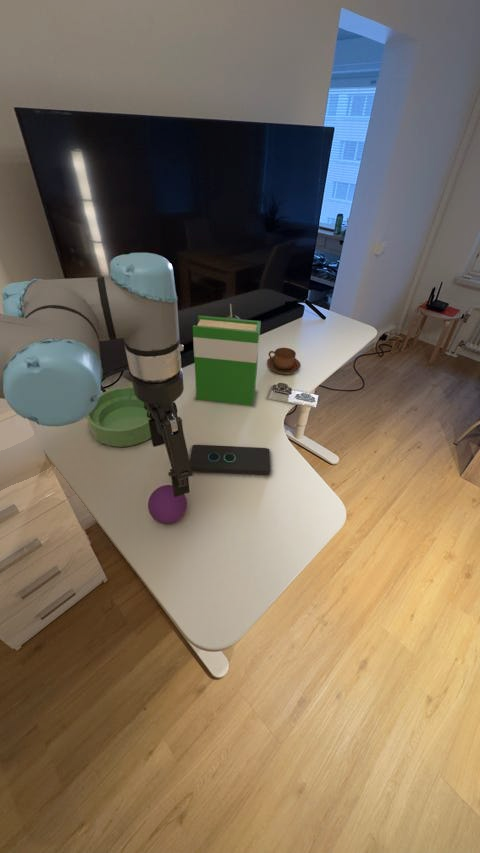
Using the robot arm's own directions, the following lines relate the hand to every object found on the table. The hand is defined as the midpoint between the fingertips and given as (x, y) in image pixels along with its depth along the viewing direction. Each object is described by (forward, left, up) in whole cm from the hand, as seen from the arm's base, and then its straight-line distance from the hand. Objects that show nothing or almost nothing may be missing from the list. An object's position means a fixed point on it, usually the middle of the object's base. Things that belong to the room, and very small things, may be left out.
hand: (169, 467), depth 65 cm
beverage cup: (-15, +69, -16) cm, 73 cm away
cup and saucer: (+5, +69, -16) cm, 71 cm away
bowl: (-27, +21, -15) cm, 38 cm away
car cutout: (+13, +53, -16) cm, 57 cm away
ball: (-1, -1, -11) cm, 11 cm away
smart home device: (+5, +19, -16) cm, 25 cm away
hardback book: (-7, +45, -16) cm, 48 cm away
